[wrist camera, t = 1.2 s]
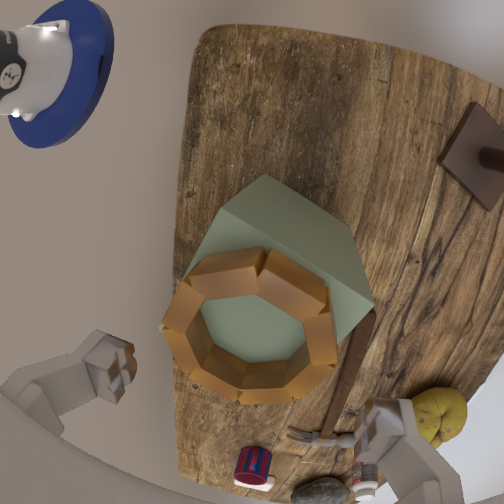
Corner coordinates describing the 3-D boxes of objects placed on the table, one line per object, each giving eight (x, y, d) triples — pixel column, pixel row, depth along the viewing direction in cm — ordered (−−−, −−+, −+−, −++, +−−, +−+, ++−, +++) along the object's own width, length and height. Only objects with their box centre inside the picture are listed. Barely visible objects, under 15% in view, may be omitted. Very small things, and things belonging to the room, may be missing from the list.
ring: (163, 329, 21) (146, 352, 19) (223, 216, 17) (206, 231, 14) (278, 394, 22) (273, 421, 19) (366, 306, 17) (373, 333, 15)
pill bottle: (355, 455, 48) (355, 494, 39) (380, 454, 46) (382, 493, 38) (350, 466, 50) (348, 502, 41) (373, 465, 49) (373, 501, 40)
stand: (436, 161, 27) (472, 172, 19) (470, 102, 23) (511, 97, 15) (484, 209, 27) (522, 232, 19) (516, 153, 23) (558, 163, 15)
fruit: (437, 416, 40) (447, 458, 31) (383, 415, 42) (388, 462, 33) (467, 374, 36) (485, 418, 26) (410, 371, 37) (423, 422, 28)
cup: (238, 456, 54) (231, 480, 48) (246, 436, 50) (238, 463, 44) (268, 463, 53) (262, 487, 47) (279, 443, 49) (274, 471, 43)
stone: (335, 489, 59) (332, 520, 50) (289, 487, 60) (284, 518, 52) (358, 473, 50) (356, 510, 42) (303, 471, 52) (298, 509, 43)
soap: (235, 475, 59) (233, 484, 56) (239, 468, 57) (237, 477, 54) (270, 483, 58) (268, 492, 55) (276, 476, 56) (274, 486, 53)
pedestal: (218, 251, 36) (157, 329, 21) (264, 172, 31) (220, 206, 17) (295, 298, 36) (279, 398, 22) (349, 227, 32) (375, 304, 17)
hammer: (412, 320, 32) (350, 451, 43) (406, 308, 34) (350, 439, 45) (313, 311, 34) (283, 446, 45) (314, 299, 36) (285, 434, 47)
